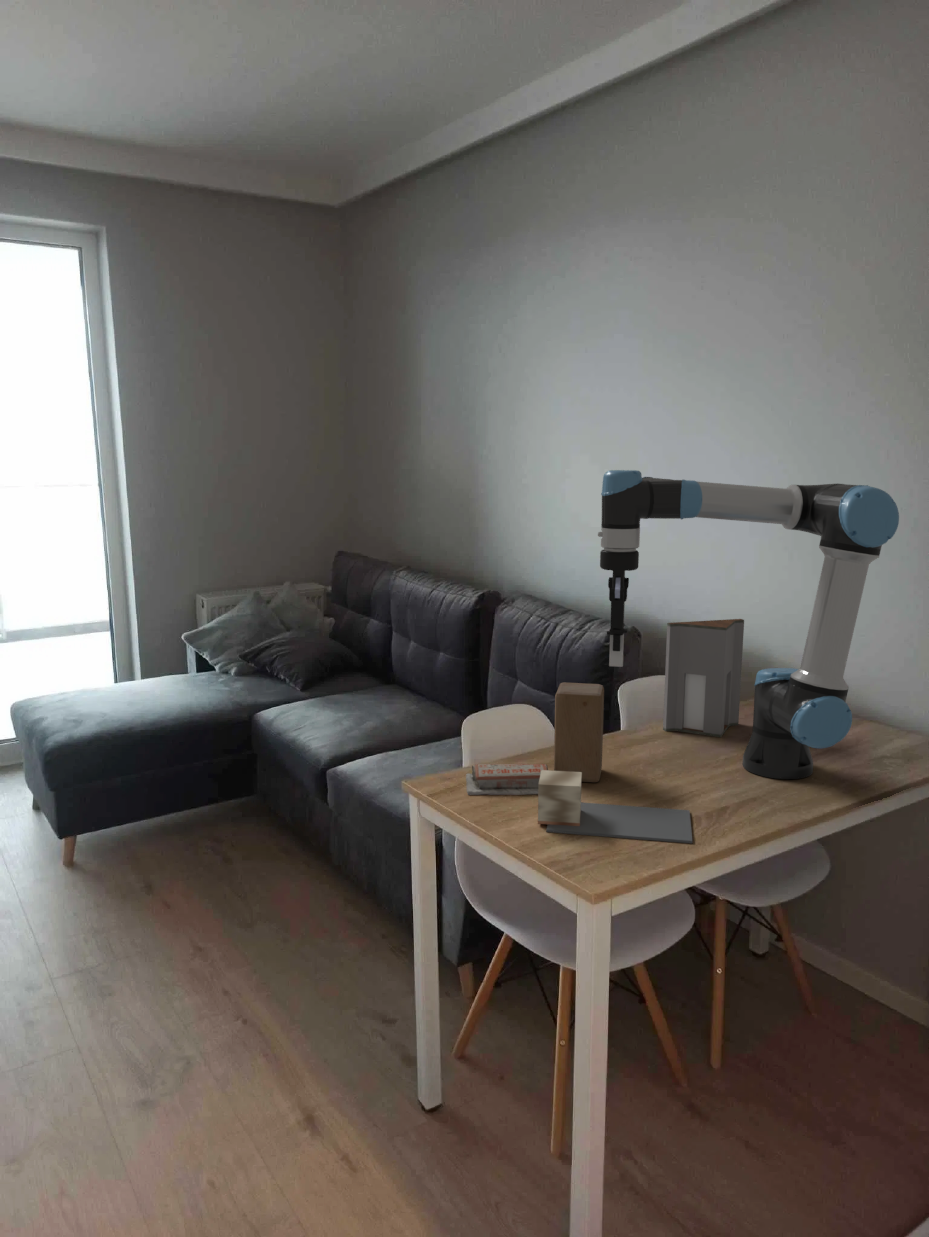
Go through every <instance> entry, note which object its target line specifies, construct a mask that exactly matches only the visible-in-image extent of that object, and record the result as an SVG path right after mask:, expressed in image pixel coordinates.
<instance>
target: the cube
mask: <svg viewBox="0 0 929 1237" xmlns="http://www.w3.org/2000/svg"><path fill="white" fill-rule="evenodd" d="M581 781H582V772H569V771H554V770H549V769H548V770H541V774H540V779H539V785H538V794H537V795H538V799H537V800H538V801H537V802H538V804H537V825H548V824H551V825H568V826H580V814H581V802H582V782H581Z"/></svg>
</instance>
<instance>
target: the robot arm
mask: <svg viewBox="0 0 929 1237" xmlns="http://www.w3.org/2000/svg"><path fill="white" fill-rule="evenodd" d="M602 476H603V477H602V488H601V494H600V495H601V526H600V527H601V531H598V532H597V536H598V537H600V547H602V549H601V551H600V553H599V554H600V556H599V558H600V560H599V566H600V568H601V569H602V570H604V571H611V572H612V576H611V577H608V583H607V586H608V589H609V591H608V600H609V601H610V628H609V630H607V631H606V635H609V656H608V657H609V658H608V659H609V660H608V662H609V663H608V666H609V667H619V668H620V667H622V668H623V666H624V644H625V641H624V639H625V634H627V633H628V629H627V628H626V629H625V606H626V605H625V604H626V603H625V602H627V599H628V589H629V585H630V584H629V582H630V579H629V577H626V571H629V572H631V571H636V570H637V569H638V568H639V561H640V560H639V557H640V556H639V555H640V554H639V553H640V552H639V551H638V550H637V549H639V548H640V542H641V541H640V538H641V537H640V533H641V527H640V526H641V519H643V520H647V519H665V520H666V519H667V520H669V519H678V520H679V519H680V520H683V519H694V518H698V519H699V518H700V519H711V520H712V519H713V520H726V521H738V522H752V523H763V524H776V525H782V527H783V528H784V529H786V530H791V531H792V530H793V531H800V532H805V533H809V534H813V535H817V536H818V537H820V541H819V545H818V547H819V549H820V550H821V552H822V553H823V555H824V559H823V563H822V567H821V571H820V572H821V573H820V577H819V581H818V586H817V589H816V595H815V599H814V604H813V608H812V612H811V618H810V621H809V626H808V630H807V634H806V635H807V636H806V639H805V645H804V648H803V654H802V658H801V661H800V662H801V663H800V666H799V668H792V667H791V668H789V667H777V668H776V667H772V668H771V667H770V668H762V669H761V670H758V671H757V673H756V674H755V675H756V677H755V682H754V696H753V697H754V700H753V716H752V717H753V718H752V719H753V720H752V733H751V736H750V737H749V741H748V742H747V745H746V747H745V750H744V753H743V755H742V767H743V768H744V769H745V770H746V771H748V772H750V773H752V774H753V775H754V774H755V775H757V776H761V777H765V778H771V779H778V780H797V779H798V780H799V779H804V778H808V777H810V776H811V775H813V772H814V771H813V770H814V761H813V757H812V753H811V749H810V748H813V749H827V748H830V747H833V746H835V745H836V744H838V743H839V742H841V741H842V740H843V739H844V738H846V736H847V735H848V734H849V732H850V730H851V727H852V723H853V714H852V710H851V709H850V707H849V705H848V703H847V702H846V701H847V696H848V692H849V687H850V686H849V685H848V683H847V682H846V680H845V679H844V675H845V670H846V667H847V662H848V658H849V652H850V649H851V645H852V639H853V635H854V631H855V628H856V623H857V618H858V615H859V614H858V613H859V609H860V605H861V601H862V597H863V592H864V588H865V583H866V580H867V575H868V570H869V566H870V564H871V563H872V562H874V561H876V560H878V559H879V558H880V554H881V550H882V546H883V545H885V544H886V543H887V542H888V541H889V540H891V539H892V538H893V537H894V536H895V534H896V532H897V530H898V527H899V523H900V513H899V508H898V505H897V503H896V502H895V501H894V499H893V497H892V496H891V495H890V494H889V493H888V492H886V491H885V490H883V489H880V488H878V487H873V486H871V485H869V484H867V485H865V484H864V485H861V484H859V485H858V484H845V483H827V484H824V483H823V484H810V485H809V484H807V485H806V484H805V485H804V484H791V485H788V486H787V487H786V488H783V487H769V486H757V485H756V486H755V485H744V484H732V483H721V482H720V483H718V482H709V481H708V482H707V481H698V480H697V481H696V480H691V479H689V480H687V479H670V478H660V477H659V478H658V477H652V476H643V477H642V472H641V471H640V470H635V469H630V470H629V469H625V470H624V469H614V470H613V469H611V470H607V471H606V472H605V473H604V474H603V475H602ZM601 537H602V538H601Z"/></svg>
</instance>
